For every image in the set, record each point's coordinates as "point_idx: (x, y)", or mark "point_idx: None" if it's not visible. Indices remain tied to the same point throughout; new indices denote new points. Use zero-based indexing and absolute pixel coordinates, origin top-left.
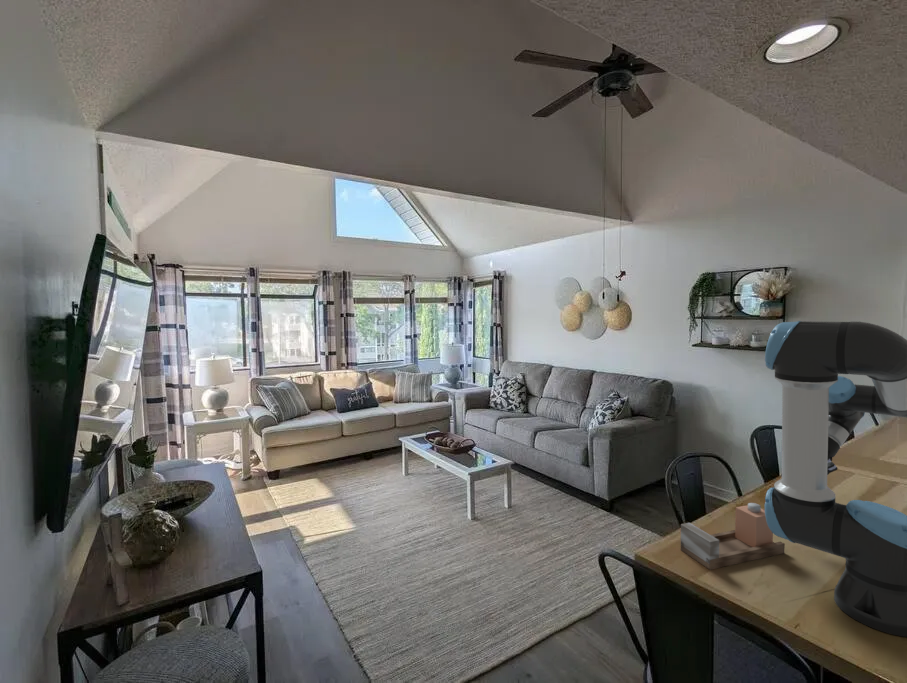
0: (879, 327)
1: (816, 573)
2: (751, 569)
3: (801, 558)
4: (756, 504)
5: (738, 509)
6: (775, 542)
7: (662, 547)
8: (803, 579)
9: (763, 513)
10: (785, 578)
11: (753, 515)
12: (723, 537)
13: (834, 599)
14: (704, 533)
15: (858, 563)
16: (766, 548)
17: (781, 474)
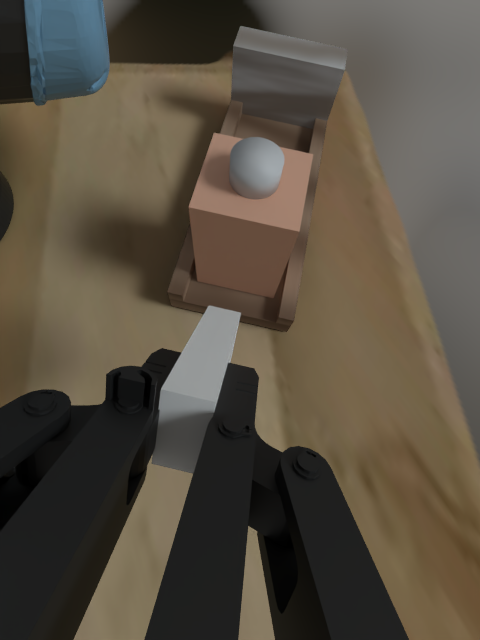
0: None
1: (73, 273)
2: (186, 171)
3: (129, 321)
4: (255, 169)
5: (297, 153)
6: (188, 275)
7: (350, 110)
8: (88, 220)
9: (216, 183)
10: (119, 193)
11: (229, 139)
12: None
13: (9, 186)
14: (278, 49)
15: None
16: (189, 227)
17: (332, 474)
